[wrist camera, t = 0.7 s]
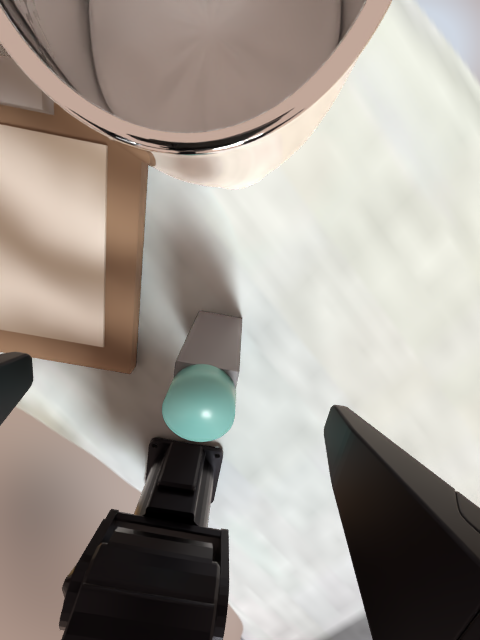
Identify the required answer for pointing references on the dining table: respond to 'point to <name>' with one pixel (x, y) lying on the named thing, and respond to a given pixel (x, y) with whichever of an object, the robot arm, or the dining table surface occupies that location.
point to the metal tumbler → (194, 74)
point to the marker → (205, 379)
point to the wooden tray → (66, 233)
